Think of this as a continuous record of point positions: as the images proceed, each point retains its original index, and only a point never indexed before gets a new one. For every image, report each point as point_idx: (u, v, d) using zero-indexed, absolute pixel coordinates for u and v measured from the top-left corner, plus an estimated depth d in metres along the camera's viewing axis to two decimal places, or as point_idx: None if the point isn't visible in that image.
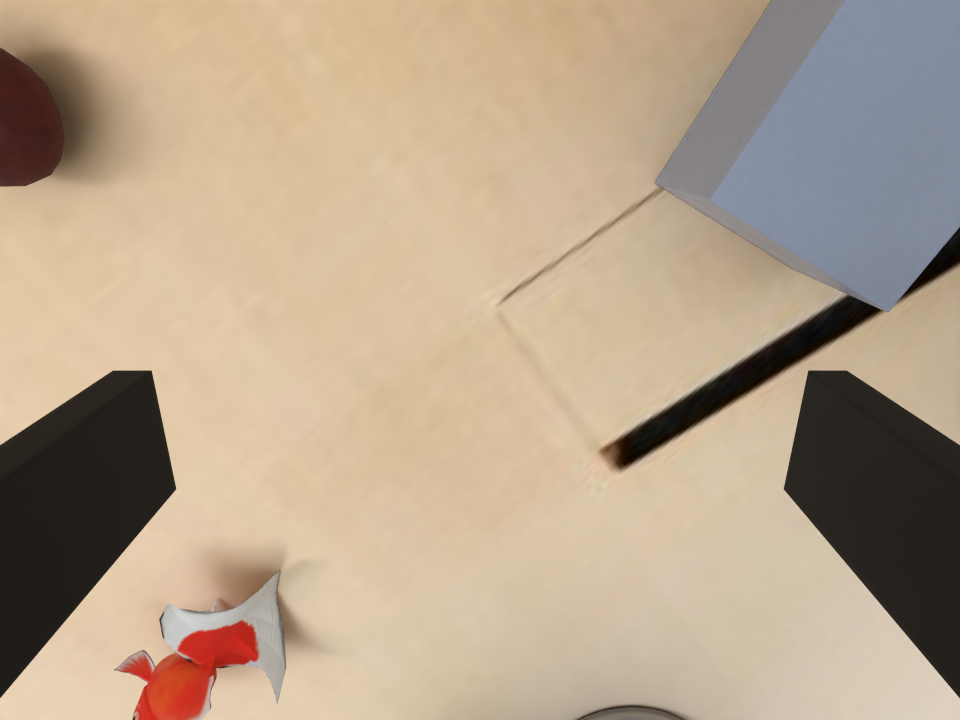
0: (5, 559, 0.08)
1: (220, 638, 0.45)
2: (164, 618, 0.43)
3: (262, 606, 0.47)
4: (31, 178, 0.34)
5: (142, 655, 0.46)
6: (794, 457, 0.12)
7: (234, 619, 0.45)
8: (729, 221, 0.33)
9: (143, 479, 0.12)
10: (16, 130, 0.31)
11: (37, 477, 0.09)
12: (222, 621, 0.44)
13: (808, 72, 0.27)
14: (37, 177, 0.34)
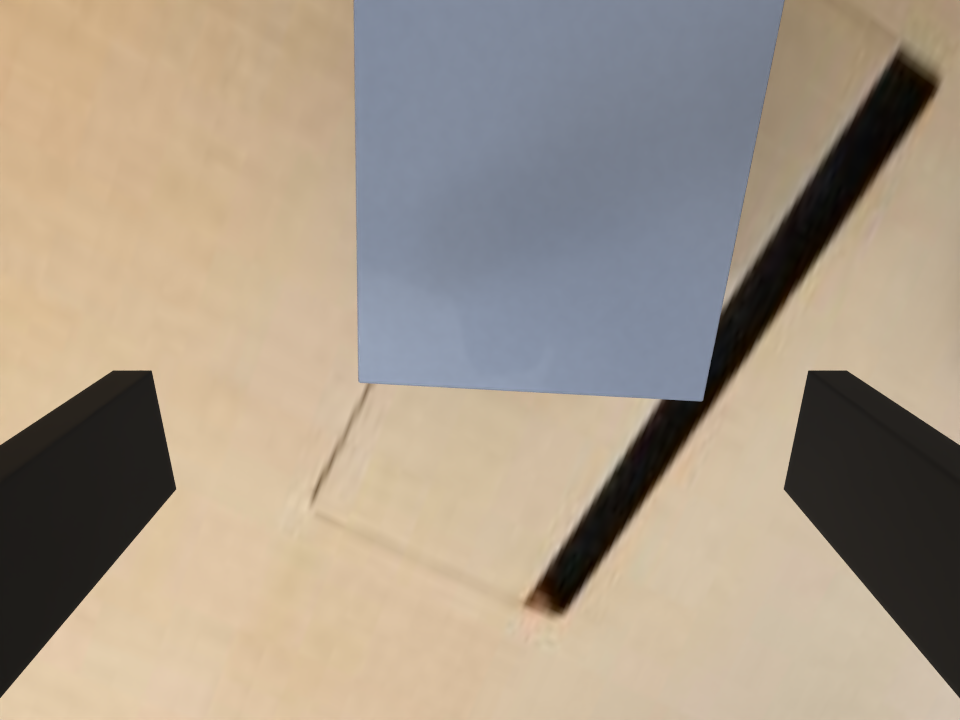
0: (5, 559, 0.08)
1: None
2: None
3: None
4: None
5: None
6: (794, 457, 0.12)
7: None
8: None
9: (143, 479, 0.12)
10: None
11: (37, 477, 0.09)
12: None
13: (371, 172, 0.17)
14: None
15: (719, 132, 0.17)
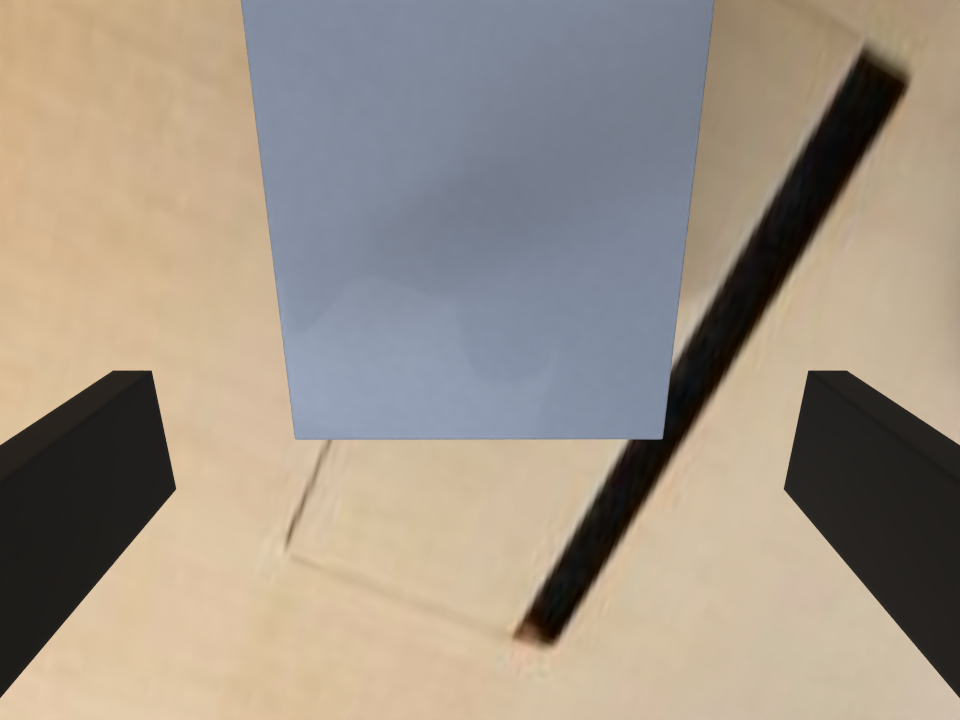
0: (5, 559, 0.08)
1: None
2: None
3: None
4: None
5: None
6: (794, 457, 0.12)
7: None
8: None
9: (143, 479, 0.12)
10: None
11: (37, 477, 0.09)
12: None
13: (284, 222, 0.16)
14: None
15: (654, 157, 0.16)
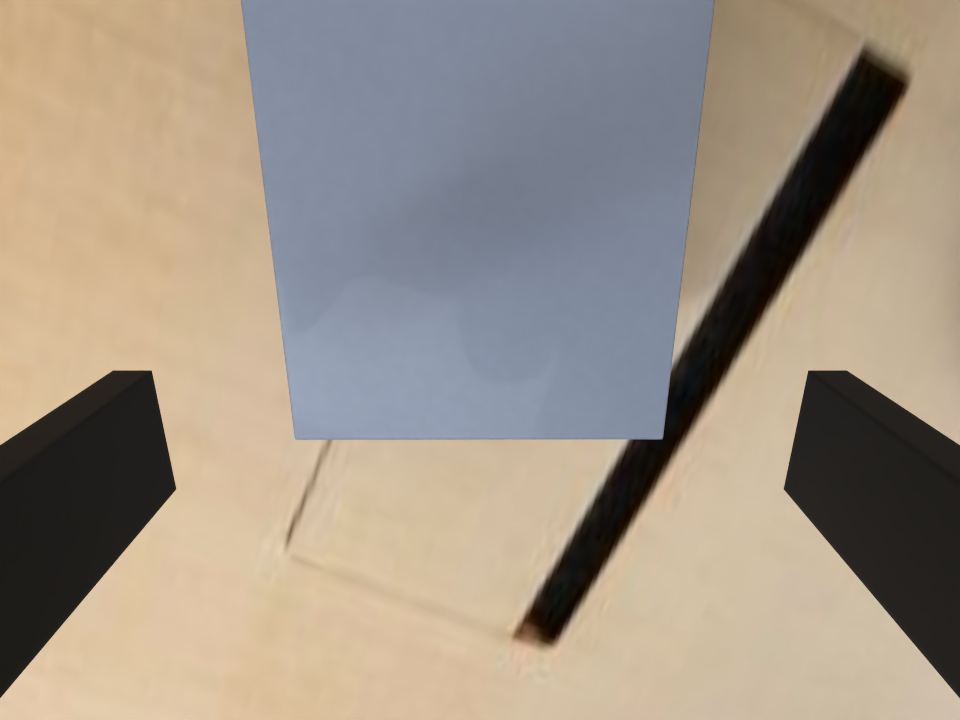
0: (5, 559, 0.08)
1: None
2: None
3: None
4: None
5: None
6: (794, 457, 0.12)
7: None
8: None
9: (143, 479, 0.12)
10: None
11: (37, 477, 0.09)
12: None
13: (285, 222, 0.16)
14: None
15: (654, 157, 0.16)
